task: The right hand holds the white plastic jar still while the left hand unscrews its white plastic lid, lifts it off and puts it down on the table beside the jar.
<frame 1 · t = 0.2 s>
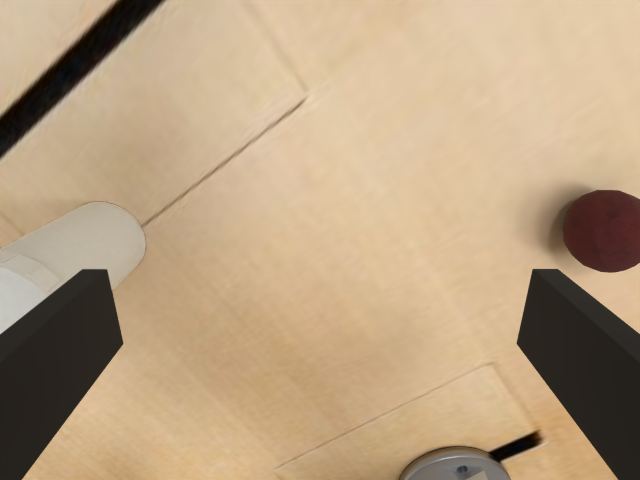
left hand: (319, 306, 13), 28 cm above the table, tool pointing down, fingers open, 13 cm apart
dark red ball: (583, 217, 41), on the table
jar: (106, 239, 42), on the table
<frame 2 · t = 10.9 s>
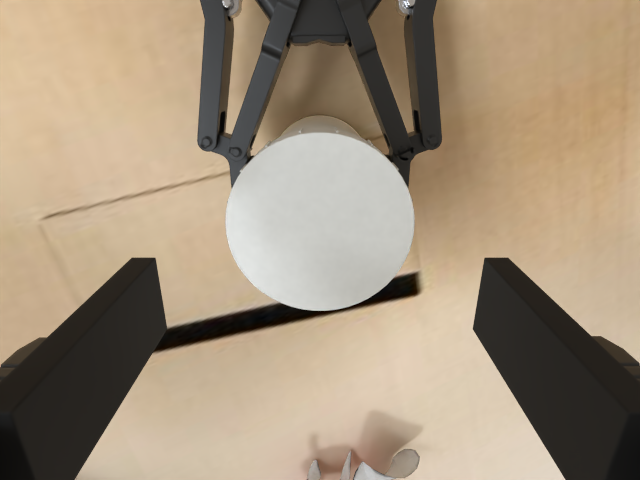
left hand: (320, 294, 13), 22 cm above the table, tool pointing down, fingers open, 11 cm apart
right hand: (320, 247, 30), fingers closed on jar, 8 cm apart
fish: (349, 458, 46), on the table
lid: (319, 226, 20), point 15 cm above the table, screwed on, not yet turned
jar: (319, 165, 34), on the table, touching right hand
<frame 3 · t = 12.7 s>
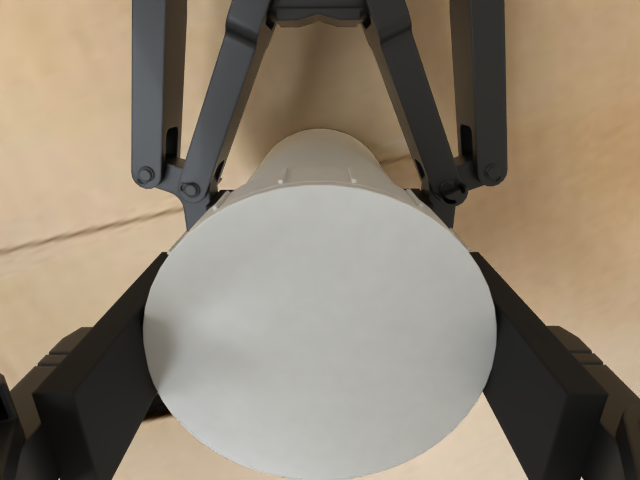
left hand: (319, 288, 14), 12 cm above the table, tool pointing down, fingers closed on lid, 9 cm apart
right hand: (320, 319, 21), fingers closed on jar, 8 cm apart
lid: (319, 348, 11), point 15 cm above the table, screwed on, not yet turned, touching left hand
jar: (319, 195, 25), on the table, touching right hand
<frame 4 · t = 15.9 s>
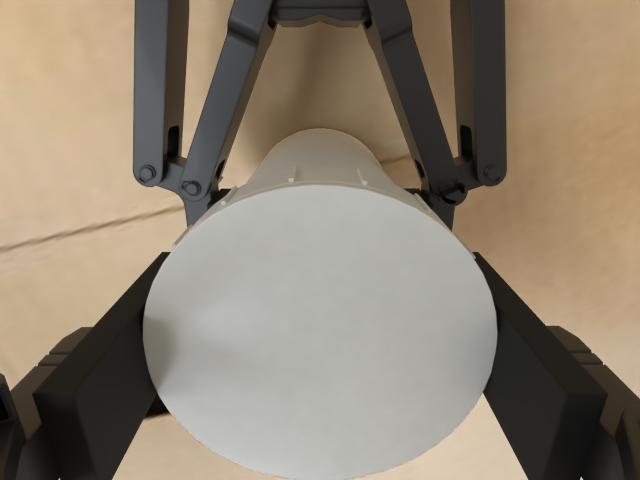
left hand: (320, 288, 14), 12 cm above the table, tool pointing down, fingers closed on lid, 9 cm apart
right hand: (320, 318, 21), fingers closed on jar, 8 cm apart
lid: (319, 348, 11), point 15 cm above the table, turned 103° so far, risen 0.1 cm, still on its thread, touching left hand
jar: (320, 195, 25), on the table, touching right hand
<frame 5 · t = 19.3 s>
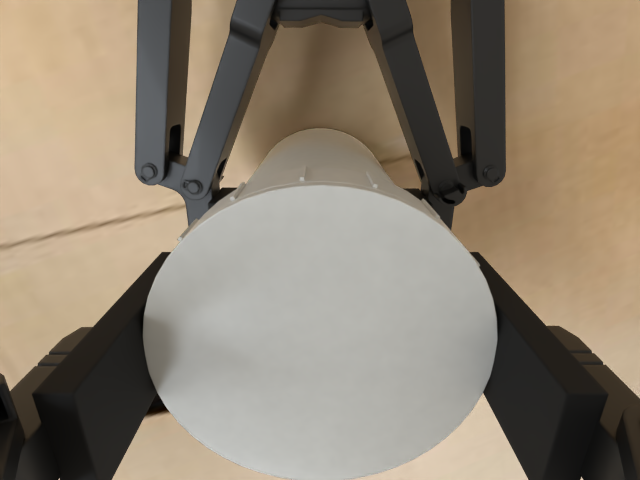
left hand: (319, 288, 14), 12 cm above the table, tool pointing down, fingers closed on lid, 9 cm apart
right hand: (319, 317, 21), fingers closed on jar, 8 cm apart
lid: (320, 349, 11), point 16 cm above the table, turned 206° so far, risen 0.3 cm, still on its thread, touching left hand
jar: (320, 194, 25), on the table, touching right hand
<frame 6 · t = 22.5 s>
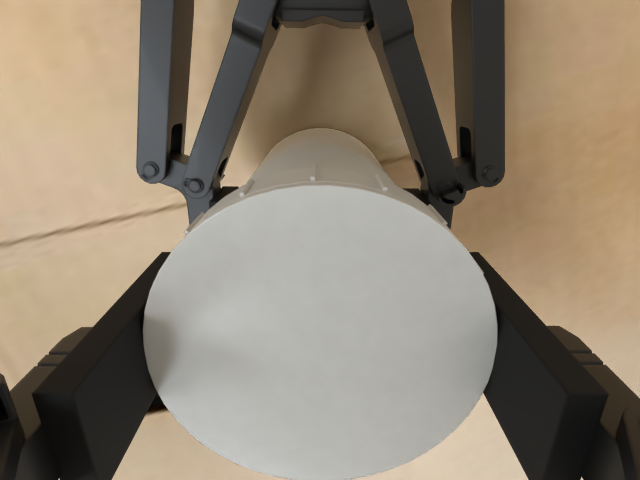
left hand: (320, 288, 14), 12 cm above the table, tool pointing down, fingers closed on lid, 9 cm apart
right hand: (319, 315, 21), fingers closed on jar, 8 cm apart
lid: (320, 349, 11), point 16 cm above the table, turned 310° so far, risen 0.4 cm, still on its thread, touching left hand
jar: (320, 194, 25), on the table, touching right hand
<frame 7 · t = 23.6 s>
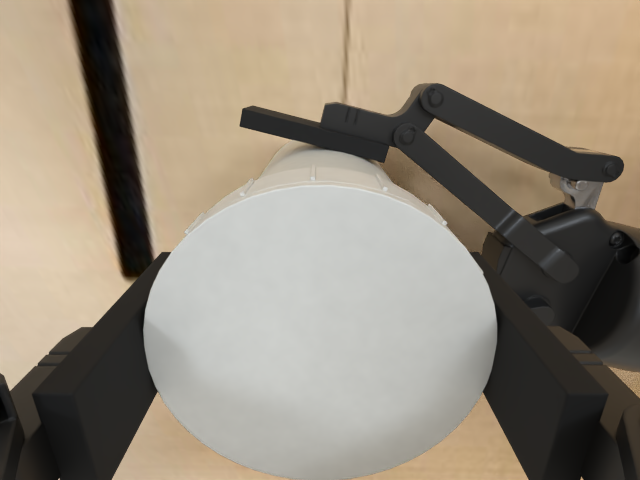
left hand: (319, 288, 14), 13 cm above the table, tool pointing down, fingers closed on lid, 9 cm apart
lid: (320, 348, 11), point 17 cm above the table, off its thread, touching left hand
jar: (323, 194, 26), on the table, touching right hand
when the left hand's fingers open (0 cm above the table, at t = 28.3 s): lid drops 2 cm, point 2 cm above the table.
when the right hand's fingers open (6 cm above the table, at t = 29.3 s): jar stays where it is, on the table.
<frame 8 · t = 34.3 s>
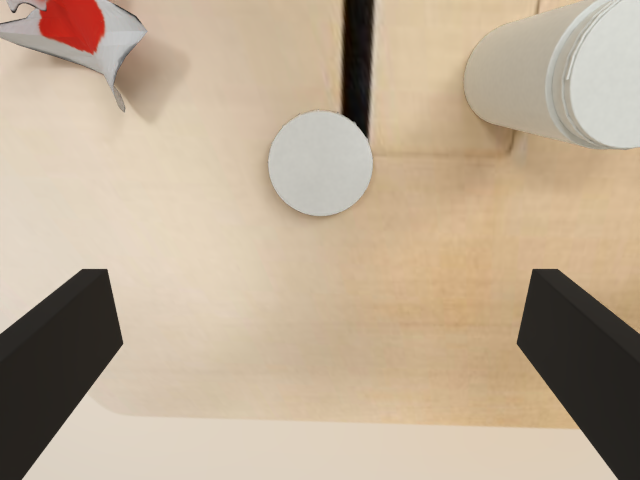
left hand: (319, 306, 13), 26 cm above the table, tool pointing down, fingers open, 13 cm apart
fish: (102, 9, 32), on the table
lid: (320, 165, 35), point 2 cm above the table, off its thread
jar: (511, 75, 34), on the table
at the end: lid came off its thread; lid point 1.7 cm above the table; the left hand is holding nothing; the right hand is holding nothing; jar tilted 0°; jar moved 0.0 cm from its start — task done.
